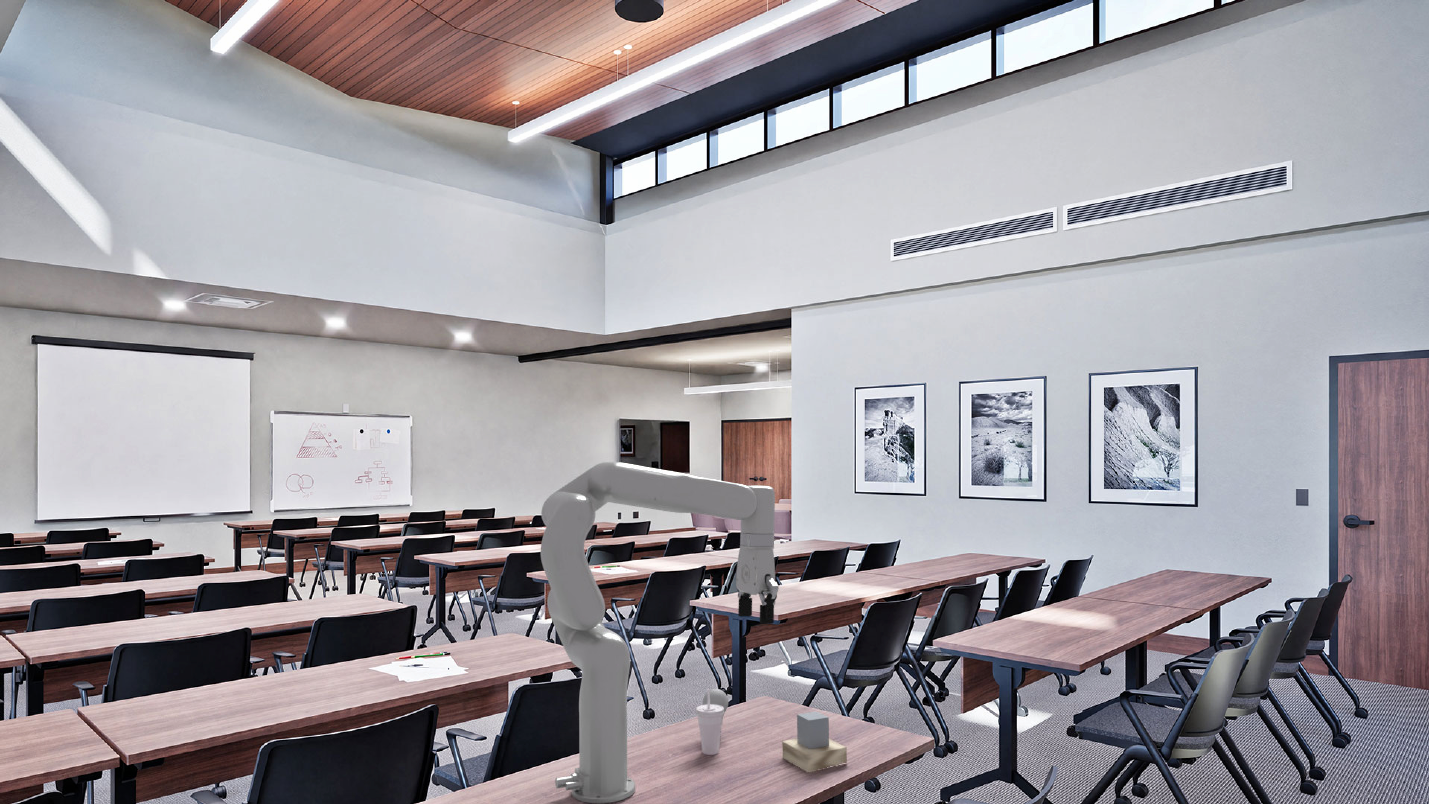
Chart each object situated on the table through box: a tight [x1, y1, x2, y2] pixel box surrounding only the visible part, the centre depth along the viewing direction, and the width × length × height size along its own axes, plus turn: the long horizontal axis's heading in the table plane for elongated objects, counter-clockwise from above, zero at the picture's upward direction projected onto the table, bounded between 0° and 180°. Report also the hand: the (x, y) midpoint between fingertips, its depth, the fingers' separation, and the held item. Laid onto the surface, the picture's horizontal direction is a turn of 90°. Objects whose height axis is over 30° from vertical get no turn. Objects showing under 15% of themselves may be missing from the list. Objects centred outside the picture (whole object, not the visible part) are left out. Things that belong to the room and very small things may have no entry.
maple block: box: [782, 738, 848, 773], centre depth 184 cm, size 10×10×4 cm
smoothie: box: [695, 688, 725, 756], centre depth 190 cm, size 6×6×14 cm
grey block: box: [796, 711, 830, 749], centre depth 184 cm, size 5×5×6 cm
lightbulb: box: [702, 688, 729, 722], centre depth 201 cm, size 6×6×11 cm
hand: (755, 619), depth 186 cm, fingers open, 9 cm apart
